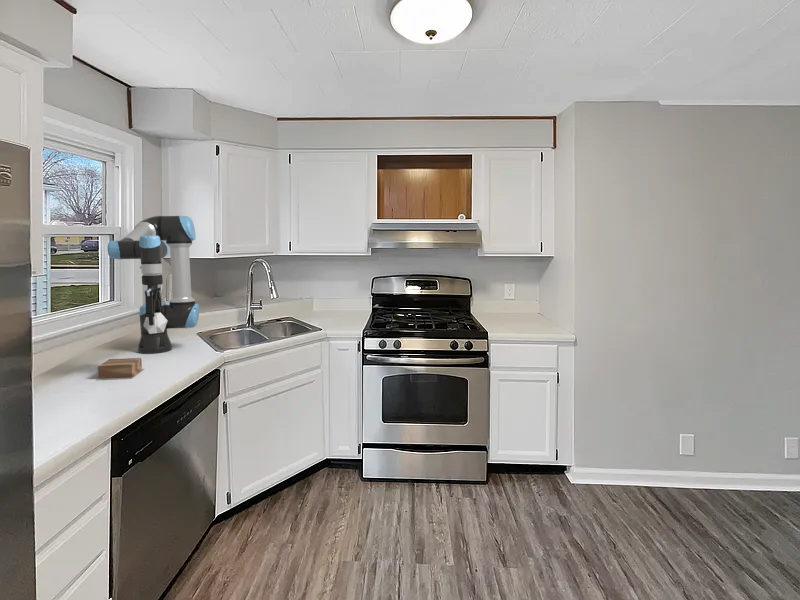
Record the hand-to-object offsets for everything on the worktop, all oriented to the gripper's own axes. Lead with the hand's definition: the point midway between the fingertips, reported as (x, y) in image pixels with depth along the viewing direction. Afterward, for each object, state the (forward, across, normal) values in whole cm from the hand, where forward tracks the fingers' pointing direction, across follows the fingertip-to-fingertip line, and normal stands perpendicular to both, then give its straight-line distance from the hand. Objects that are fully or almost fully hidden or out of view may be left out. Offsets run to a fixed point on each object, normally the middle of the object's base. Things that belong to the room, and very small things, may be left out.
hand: (155, 331), depth 220 cm
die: (+1, 0, 0) cm, 1 cm away
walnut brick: (+16, +4, -13) cm, 21 cm away
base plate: (+17, +4, -13) cm, 22 cm away
